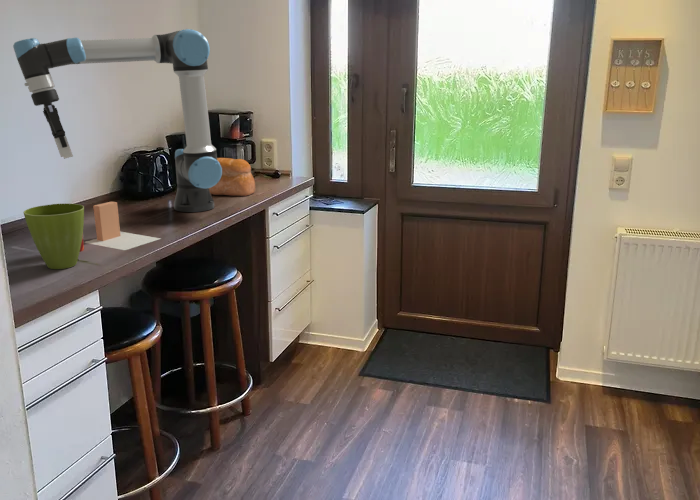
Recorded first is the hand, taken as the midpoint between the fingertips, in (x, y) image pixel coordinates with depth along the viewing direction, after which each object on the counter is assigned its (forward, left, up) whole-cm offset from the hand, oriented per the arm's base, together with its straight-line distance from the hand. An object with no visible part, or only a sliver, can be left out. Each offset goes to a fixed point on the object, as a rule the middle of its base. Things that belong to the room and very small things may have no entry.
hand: (66, 156), depth 207 cm
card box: (-7, +17, -24) cm, 30 cm away
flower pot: (+10, +38, -25) cm, 46 cm away
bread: (-66, -37, -25) cm, 80 cm away
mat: (-10, +22, -25) cm, 35 cm away
